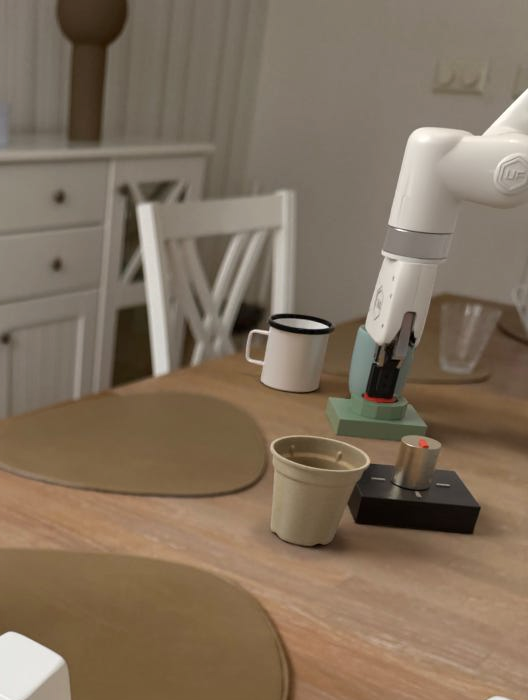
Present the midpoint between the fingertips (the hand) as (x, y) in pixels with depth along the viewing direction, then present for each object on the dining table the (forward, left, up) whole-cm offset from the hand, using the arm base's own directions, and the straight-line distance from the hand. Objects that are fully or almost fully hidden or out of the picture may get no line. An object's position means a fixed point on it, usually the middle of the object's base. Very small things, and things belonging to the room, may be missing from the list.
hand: (378, 395), depth 126 cm
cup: (-2, -11, -4) cm, 12 cm away
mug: (+10, -17, -4) cm, 20 cm away
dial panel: (+2, +27, -4) cm, 27 cm away
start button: (0, 0, -2) cm, 2 cm away
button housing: (0, 0, -4) cm, 4 cm away
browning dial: (+2, +27, -1) cm, 27 cm away
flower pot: (+14, +36, -4) cm, 39 cm away
